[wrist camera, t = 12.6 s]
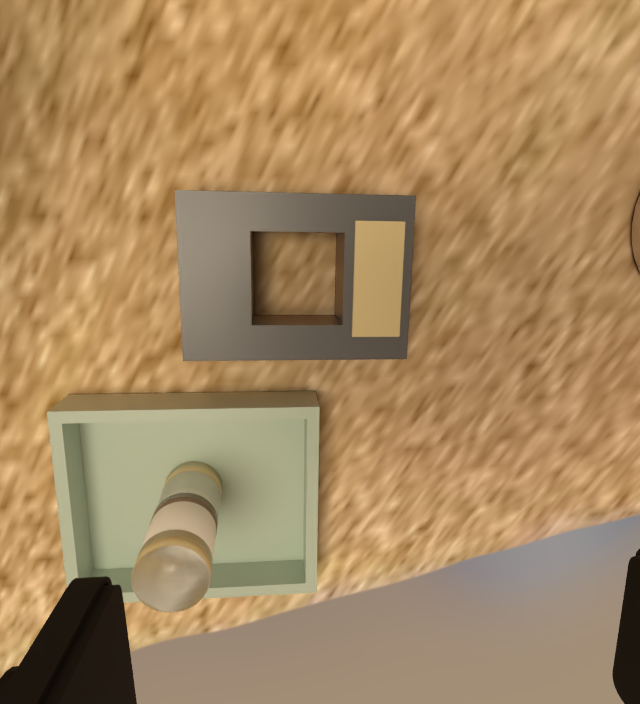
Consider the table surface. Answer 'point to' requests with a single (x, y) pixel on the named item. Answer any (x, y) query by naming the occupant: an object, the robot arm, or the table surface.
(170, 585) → the fuse
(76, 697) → the robot arm
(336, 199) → the fuse block
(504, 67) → the table surface
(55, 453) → the parts tray
